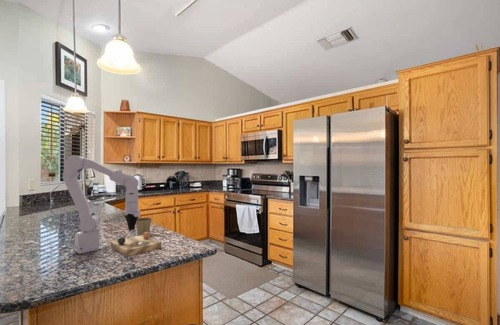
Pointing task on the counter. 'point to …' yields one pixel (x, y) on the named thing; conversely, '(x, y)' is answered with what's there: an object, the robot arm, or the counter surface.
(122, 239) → the black rubber ball
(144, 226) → the flower pot
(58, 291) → the counter surface
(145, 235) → the terracotta ball
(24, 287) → the counter surface
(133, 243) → the board
